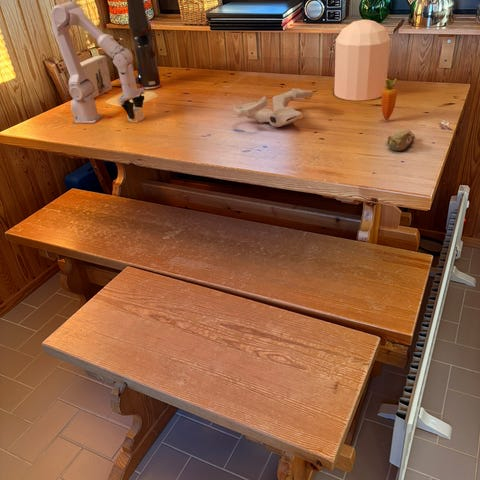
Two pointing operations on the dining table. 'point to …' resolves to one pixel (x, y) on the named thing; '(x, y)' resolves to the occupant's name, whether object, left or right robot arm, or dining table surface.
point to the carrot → (388, 99)
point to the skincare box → (97, 74)
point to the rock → (400, 140)
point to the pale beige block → (137, 114)
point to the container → (361, 61)
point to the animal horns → (280, 112)
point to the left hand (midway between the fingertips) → (135, 116)
